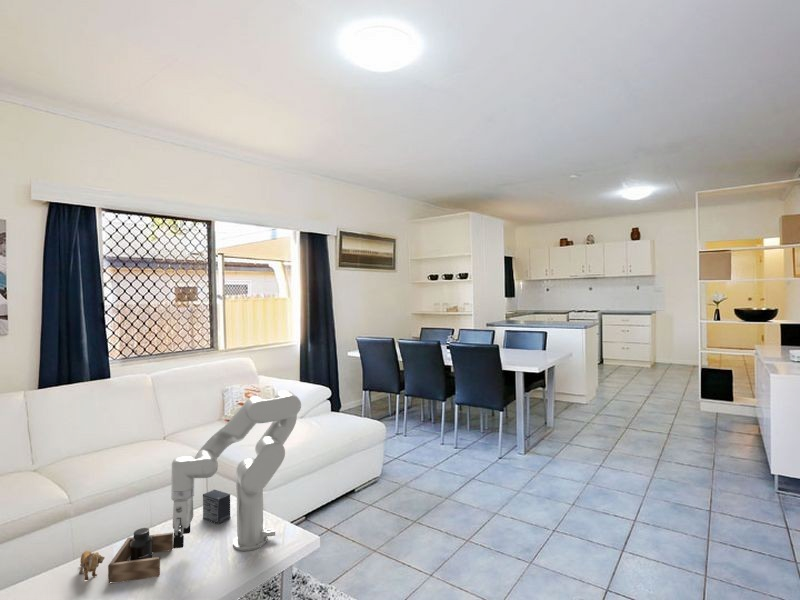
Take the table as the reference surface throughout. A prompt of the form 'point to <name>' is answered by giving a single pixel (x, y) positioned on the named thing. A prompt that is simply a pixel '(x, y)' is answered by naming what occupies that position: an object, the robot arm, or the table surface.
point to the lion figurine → (90, 563)
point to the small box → (216, 506)
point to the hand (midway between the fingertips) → (181, 540)
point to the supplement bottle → (141, 545)
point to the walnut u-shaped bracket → (138, 561)
